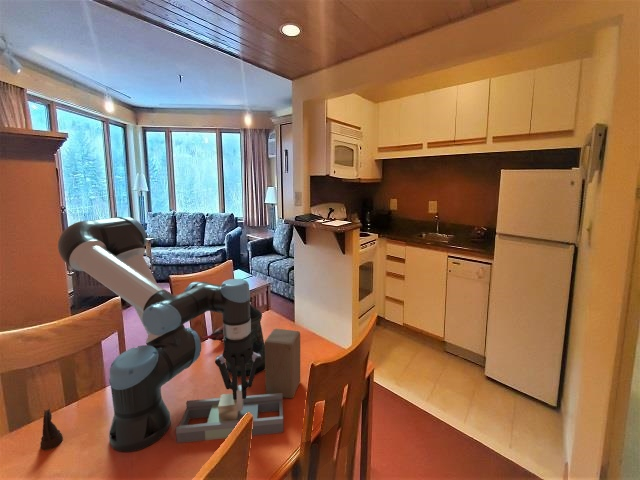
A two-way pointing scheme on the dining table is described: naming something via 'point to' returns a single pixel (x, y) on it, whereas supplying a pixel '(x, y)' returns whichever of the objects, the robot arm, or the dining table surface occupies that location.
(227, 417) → the birch block
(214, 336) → the decorative bird figurine
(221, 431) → the board
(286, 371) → the wooden block
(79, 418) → the dining table surface
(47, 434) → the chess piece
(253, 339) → the beer stein
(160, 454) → the dining table surface
